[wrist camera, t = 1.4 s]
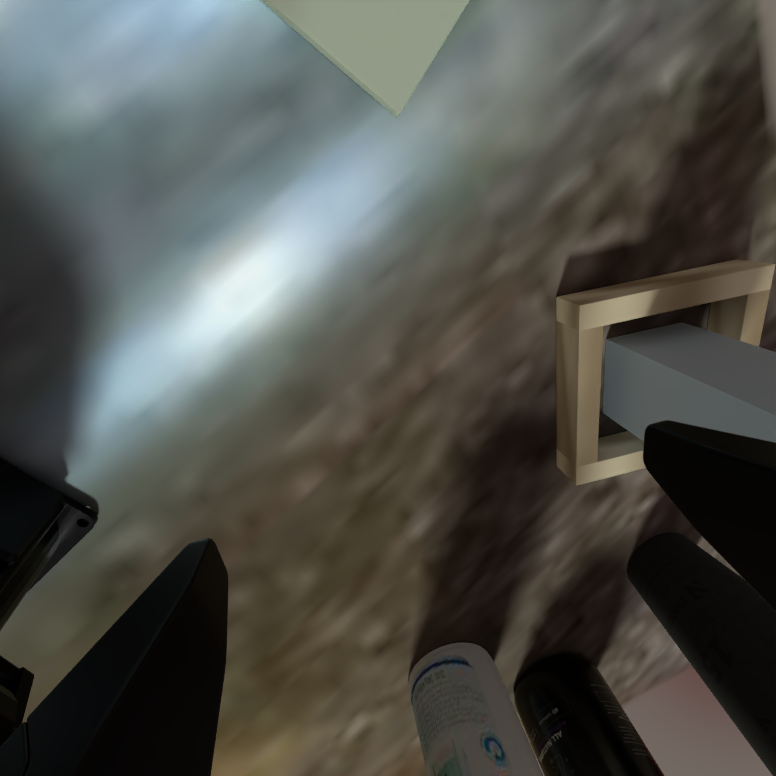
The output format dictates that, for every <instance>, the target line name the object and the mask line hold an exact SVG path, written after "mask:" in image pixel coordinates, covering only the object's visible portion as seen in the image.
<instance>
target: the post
mask: <svg viewBox="0 0 776 776" xmlns="http://www.w3.org/2000/svg"><path fill="white" fill-rule="evenodd" d="M603 413H604V414H605V415H606V416H608V417H609V418H611V419H612V420H614V421H615V422H616V423H618V424H619V425H621V426H622V427H624V428H625V429H626V430H628V431H629V432H631V433H632V434H634V435H635V436H636V437H638V438H639V439H641V440H642V441H644V434H645V429H646V427H647V426H648V425H649V424H652V423H656V422H660V421H664V420H670V421H675V422H680V423H684V424H689V425H694V426H699V427H704V428H708V429H713V430H718V431H723V432H728V433H732V434H737V435H742V436H747V437H751V438H756V439H761V440H766V441H771V442H775V443H776V352H774V351H771V350H768V349H764V348H761V347H758V346H755V345H752V344H749V343H746V342H742V341H739V340H736V339H733V338H730V337H727V336H724V335H720V334H717V333H714V332H711V331H708V330H705V329H702V328H698V327H695V326H692V325H689V324H686V323H683V322H681V323H676V324H672V325H667V326H663V327H658V328H654V329H649V330H645V331H640V332H635V333H631V334H626V335H622V336H617V337H613V338H608V339H606V350H605V371H604V393H603Z"/></svg>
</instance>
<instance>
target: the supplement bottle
mask: <svg viewBox="0 0 776 776" xmlns="http://www.w3.org/2000/svg"><path fill="white" fill-rule="evenodd" d="M515 705H516V708H517V711H518V713H519V716H520V718H521V721H522V723H523V725H524V728H525V730H526V733H527V735H528V737H529V740H530V742H531V745H532V747H533V749H534V752H535V754H536V756H537V759H538V761H539V764H540V766H541V768H542V771H543V773H544V775H545V776H664V774H663V772H662V771H661V769H660V768H659V766H658V764H657V763H656V761H655V760H654V758H653V756H652V755H651V753H650V752H649V750H648V748H647V747H646V745H645V744H644V742H643V740H642V739H641V737H640V736H639V734H638V732H637V731H636V729H635V728H634V726H633V724H632V723H631V721H630V719H629V718H628V716H627V715H626V713H625V712H624V710H623V708H622V707H621V705H620V703H619V702H618V700H617V699H616V697H615V695H614V694H613V692H612V691H611V689H610V687H609V686H608V684H607V683H606V681H605V680H604V678H603V677H602V675H601V673H600V672H599V670H598V669H597V667H596V666H595V665H594V664H593V663H592V662H591V661H589V660H588V659H586V658H584V657H581V656H578V655H561V656H556V657H553V658H550V659H547V660H545V661H543V662H541V663H539V664H537V665H536V666H534V667H533V668H531V669H530V670H529V671H528V672H527V673H526V674H525V675H524V676H523V677H522V678H521V680H520V681H519V683H518V685H517V688H516V691H515Z"/></svg>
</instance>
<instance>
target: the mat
mask: <svg viewBox="0 0 776 776" xmlns="http://www.w3.org/2000/svg"><path fill="white" fill-rule="evenodd" d="M261 1H262V2H263V3H264V4H265V5H266V6H268V7H269V8H270V9H271V10H272V11H273V12H275V13H276V14H277V15H278V16H279V17H280V18H282V19H283V20H284V21H285V22H286V23H287V24H288V25H290V26H291V27H292V28H293V29H294V30H295V31H297V32H298V33H299V34H300V35H301V36H302V37H304V38H305V39H306V40H307V41H308V42H309V43H311V44H312V45H313V46H314V47H315V48H316V49H318V50H319V51H320V52H321V53H322V54H323V55H325V56H326V57H327V58H328V59H329V60H330V61H331V62H333V63H334V64H335V65H336V66H337V67H338V68H340V69H341V70H342V71H343V72H344V73H345V74H347V75H348V76H349V77H350V78H351V79H352V80H354V81H355V82H356V83H357V84H358V85H359V86H361V87H362V88H363V89H364V90H365V91H366V92H368V93H369V94H370V95H371V96H372V97H373V98H374V99H376V100H377V101H378V102H379V103H380V104H381V105H383V106H384V107H385V108H386V109H387V110H388V111H390V112H391V113H392V114H393V115H394V116H395V117H397V116H399V115H400V113H401V112H402V110H403V108H404V107H405V105H406V103H407V102H408V100H409V98H410V97H411V95H412V93H413V92H414V90H415V89H416V87H417V85H418V84H419V82H420V80H421V79H422V77H423V75H424V74H425V72H426V71H427V69H428V67H429V66H430V64H431V62H432V61H433V59H434V57H435V56H436V54H437V53H438V51H439V49H440V48H441V46H442V44H443V43H444V41H445V39H446V38H447V36H448V35H449V33H450V31H451V30H452V28H453V26H454V25H455V23H456V21H457V20H458V18H459V17H460V15H461V13H462V12H463V10H464V8H465V7H466V5H467V3H468V2H469V0H261Z"/></svg>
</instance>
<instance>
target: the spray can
mask: <svg viewBox="0 0 776 776" xmlns="http://www.w3.org/2000/svg"><path fill="white" fill-rule="evenodd" d="M409 693H410V697H411V702H412V706H413V711H414V715H415V720H416V724H417V729H418V733H419V738H420V742H421V747H422V752H423V756H424V761H425V765H426V770H427V774H428V776H543V774H542V772H541V769H540V767H539V765H538V762H537V760H536V758H535V755H534V753H533V751H532V749H531V746H530V744H529V742H528V739H527V737H526V735H525V732H524V730H523V728H522V725H521V723H520V721H519V719H518V716H517V714H516V712H515V709H514V707H513V705H512V702H511V700H510V698H509V696H508V693H507V691H506V689H505V686H504V684H503V682H502V679H501V677H500V675H499V672H498V670H497V668H496V666H495V663H494V661H493V660H492V658H491V656H490V655H489V654H488V652H487V651H486V650H485V649H484V648H482V647H481V646H479V645H476V644H473V643H463V642H461V643H453V644H448V645H445V646H442V647H439V648H437V649H435V650H433V651H431V652H429V653H428V654H427V655H425V656H424V657H423V658H421V659H420V660H419V661H418V663H417V664H416V665H415V666H414V667H413V669H412V671H411V673H410V676H409Z"/></svg>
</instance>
